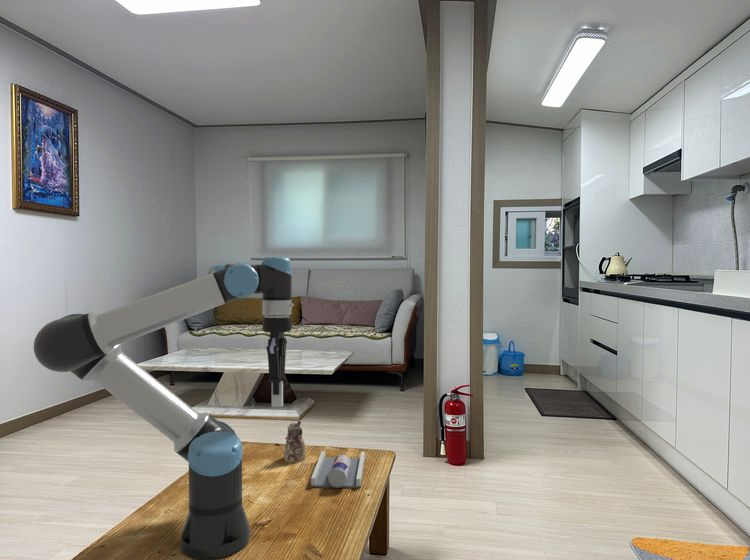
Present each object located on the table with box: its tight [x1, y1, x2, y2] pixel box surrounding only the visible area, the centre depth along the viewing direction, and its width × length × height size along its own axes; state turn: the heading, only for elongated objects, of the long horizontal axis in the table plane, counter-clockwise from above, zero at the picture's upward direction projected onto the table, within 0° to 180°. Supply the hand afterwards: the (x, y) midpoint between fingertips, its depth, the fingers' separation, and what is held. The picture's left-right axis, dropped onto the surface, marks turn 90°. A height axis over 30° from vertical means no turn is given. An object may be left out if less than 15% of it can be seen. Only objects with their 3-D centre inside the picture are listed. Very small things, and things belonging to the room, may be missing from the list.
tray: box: [310, 450, 366, 489], centre depth 156 cm, size 22×14×3 cm, turn 178°
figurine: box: [283, 420, 307, 463], centre depth 168 cm, size 7×7×12 cm
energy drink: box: [328, 454, 351, 487], centre depth 150 cm, size 5×5×12 cm
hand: (277, 406), depth 133 cm, fingers closed
